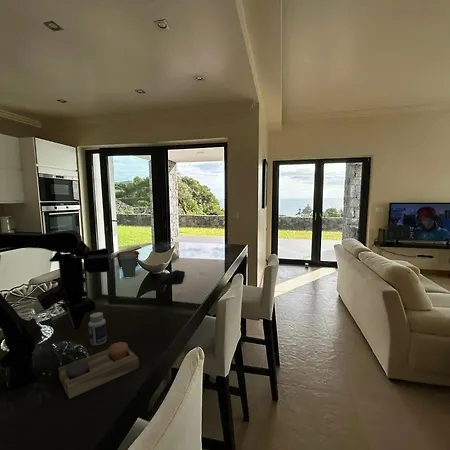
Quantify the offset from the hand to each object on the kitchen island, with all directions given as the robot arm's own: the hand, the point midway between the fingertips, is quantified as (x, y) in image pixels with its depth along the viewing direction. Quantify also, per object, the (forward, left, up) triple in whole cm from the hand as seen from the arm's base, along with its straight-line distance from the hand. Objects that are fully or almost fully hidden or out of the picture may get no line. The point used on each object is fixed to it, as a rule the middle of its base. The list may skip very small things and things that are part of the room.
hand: (76, 328), depth 80 cm
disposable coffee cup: (-83, +50, -12) cm, 98 cm away
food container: (-110, +61, -12) cm, 126 cm away
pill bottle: (-12, +9, -12) cm, 19 cm away
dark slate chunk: (-58, +66, -13) cm, 89 cm away
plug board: (+6, +3, -12) cm, 14 cm away
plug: (+6, -2, -12) cm, 14 cm away
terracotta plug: (+6, +9, -11) cm, 16 cm away
